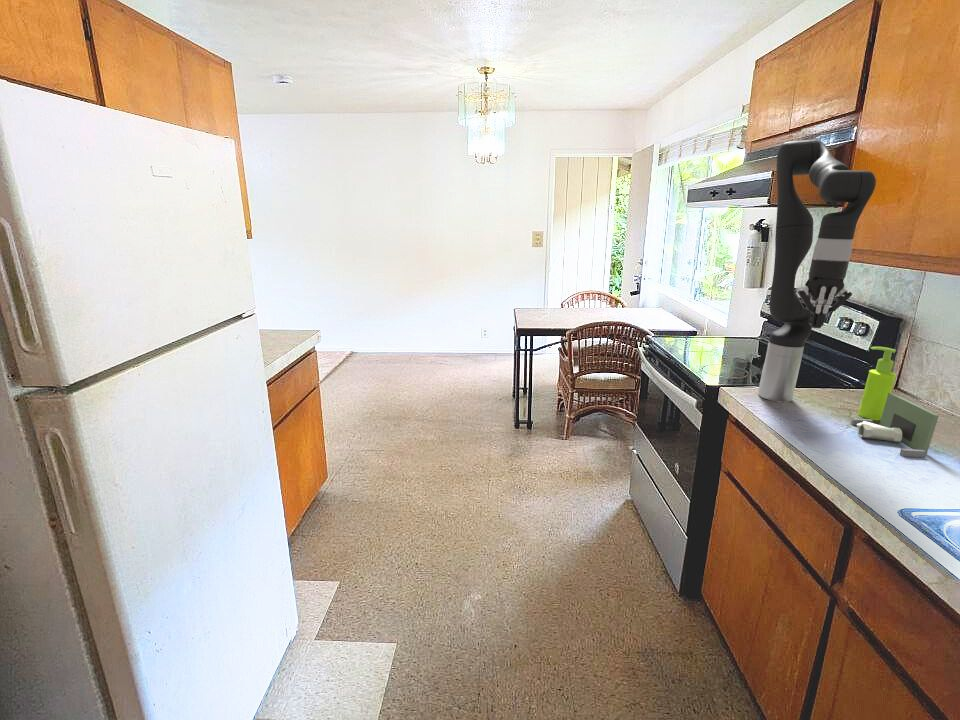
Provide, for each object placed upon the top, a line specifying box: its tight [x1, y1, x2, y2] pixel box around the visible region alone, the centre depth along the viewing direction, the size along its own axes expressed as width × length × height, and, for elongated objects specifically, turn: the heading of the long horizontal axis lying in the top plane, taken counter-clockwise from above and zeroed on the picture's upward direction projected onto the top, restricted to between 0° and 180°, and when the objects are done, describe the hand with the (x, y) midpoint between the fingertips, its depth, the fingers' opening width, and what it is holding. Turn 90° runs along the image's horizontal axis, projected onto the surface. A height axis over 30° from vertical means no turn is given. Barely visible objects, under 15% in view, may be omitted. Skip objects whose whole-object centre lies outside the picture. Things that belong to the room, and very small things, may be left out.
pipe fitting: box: [856, 421, 902, 443], centre depth 127 cm, size 8×4×7 cm
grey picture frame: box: [850, 392, 940, 458], centre depth 124 cm, size 19×7×10 cm, turn 176°
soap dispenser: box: [857, 346, 897, 421], centre depth 138 cm, size 6×7×20 cm
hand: (815, 327), depth 125 cm, fingers closed
